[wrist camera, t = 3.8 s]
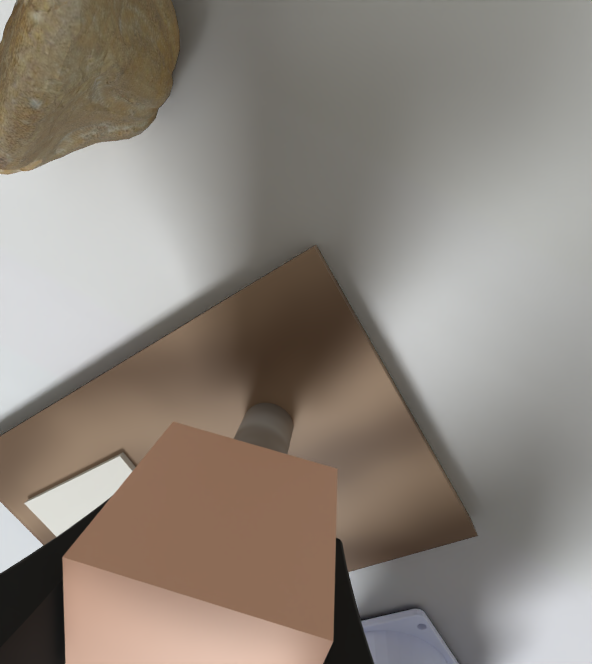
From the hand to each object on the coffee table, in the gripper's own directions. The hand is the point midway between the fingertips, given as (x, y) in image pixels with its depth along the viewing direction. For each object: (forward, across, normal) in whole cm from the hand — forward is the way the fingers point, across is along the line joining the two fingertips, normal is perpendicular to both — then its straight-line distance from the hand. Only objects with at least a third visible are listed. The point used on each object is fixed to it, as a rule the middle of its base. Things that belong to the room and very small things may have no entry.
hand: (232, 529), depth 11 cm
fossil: (+7, +9, -14) cm, 18 cm away
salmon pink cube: (+1, 0, 0) cm, 1 cm away
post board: (+7, +3, +6) cm, 9 cm away
